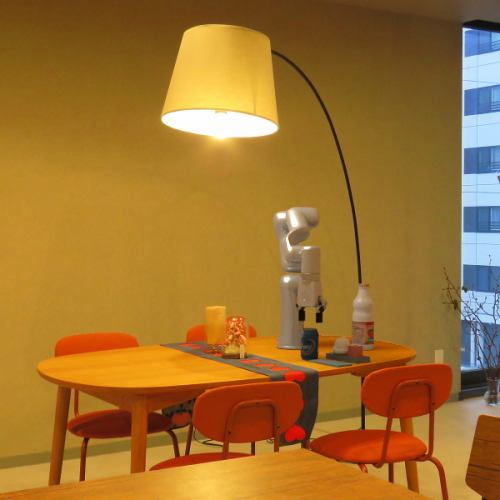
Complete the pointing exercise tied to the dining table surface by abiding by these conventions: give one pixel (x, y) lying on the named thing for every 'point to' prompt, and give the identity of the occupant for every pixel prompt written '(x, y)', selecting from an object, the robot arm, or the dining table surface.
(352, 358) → the game base
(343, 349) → the dome
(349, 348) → the red die
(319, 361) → the board
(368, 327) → the fruit juice
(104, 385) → the dining table surface
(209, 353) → the dining table surface
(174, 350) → the dining table surface
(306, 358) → the soda can
